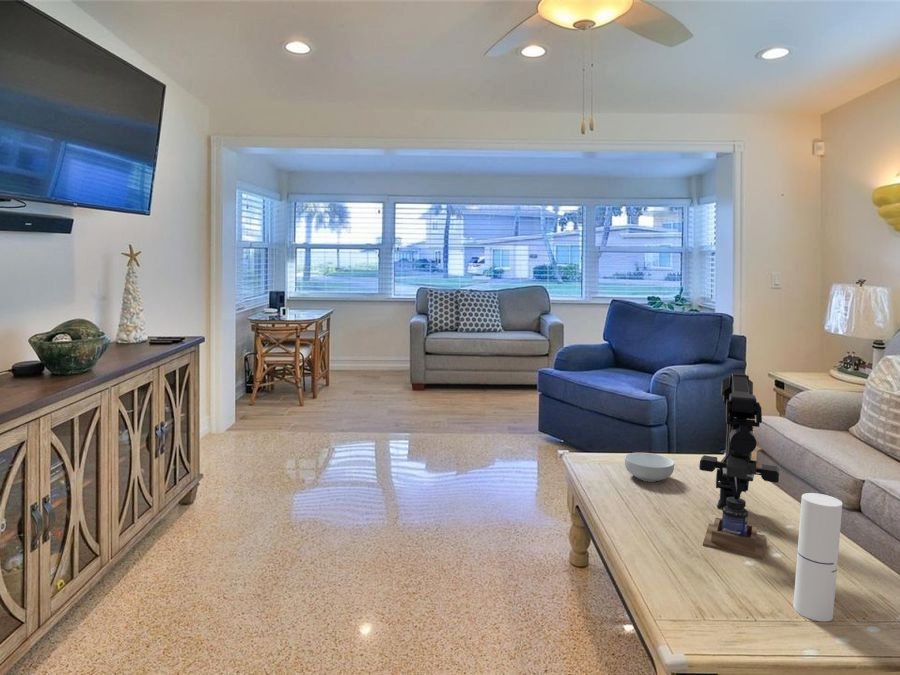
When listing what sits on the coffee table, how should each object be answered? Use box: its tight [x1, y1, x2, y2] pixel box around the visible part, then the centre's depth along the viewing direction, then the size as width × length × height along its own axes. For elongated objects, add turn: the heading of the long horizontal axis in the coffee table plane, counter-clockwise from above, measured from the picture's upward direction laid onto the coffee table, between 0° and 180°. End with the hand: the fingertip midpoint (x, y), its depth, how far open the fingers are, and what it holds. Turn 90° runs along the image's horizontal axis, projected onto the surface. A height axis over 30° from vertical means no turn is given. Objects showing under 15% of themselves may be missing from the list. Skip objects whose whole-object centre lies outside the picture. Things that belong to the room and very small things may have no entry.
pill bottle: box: [721, 497, 749, 537], centre depth 150 cm, size 6×6×11 cm
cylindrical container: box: [792, 492, 843, 622], centre depth 118 cm, size 7×7×25 cm
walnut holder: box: [702, 517, 765, 560], centre depth 151 cm, size 14×14×4 cm
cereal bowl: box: [624, 452, 675, 483], centre depth 198 cm, size 17×17×7 cm
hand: (736, 499), depth 150 cm, fingers closed
